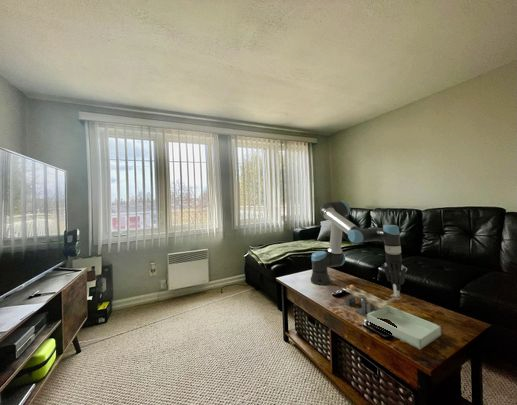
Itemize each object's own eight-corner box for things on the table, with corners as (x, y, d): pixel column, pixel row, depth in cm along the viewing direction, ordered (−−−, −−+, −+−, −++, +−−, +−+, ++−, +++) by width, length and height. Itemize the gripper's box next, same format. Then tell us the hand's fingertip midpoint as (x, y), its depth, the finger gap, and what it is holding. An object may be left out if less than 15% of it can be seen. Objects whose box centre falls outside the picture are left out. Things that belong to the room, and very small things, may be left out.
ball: (347, 287, 125) (349, 284, 124) (351, 286, 127) (353, 283, 125) (351, 292, 123) (353, 288, 121) (355, 291, 124) (357, 287, 123)
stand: (343, 305, 125) (342, 290, 125) (354, 301, 129) (353, 286, 129) (370, 319, 109) (369, 301, 109) (382, 313, 113) (381, 296, 114)
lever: (345, 291, 126) (345, 286, 126) (364, 285, 134) (364, 280, 134) (382, 309, 106) (382, 303, 106) (402, 300, 114) (402, 294, 114)
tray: (366, 322, 107) (366, 314, 107) (387, 312, 115) (387, 304, 115) (420, 349, 85) (419, 339, 85) (441, 335, 93) (440, 326, 93)
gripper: (377, 252, 119) (381, 293, 118) (401, 256, 108) (405, 301, 107) (385, 250, 123) (389, 290, 122) (409, 253, 111) (413, 298, 110)
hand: (396, 295), depth 114 cm, fingers closed
